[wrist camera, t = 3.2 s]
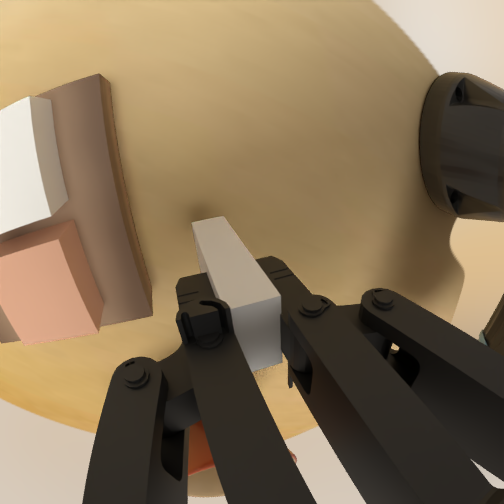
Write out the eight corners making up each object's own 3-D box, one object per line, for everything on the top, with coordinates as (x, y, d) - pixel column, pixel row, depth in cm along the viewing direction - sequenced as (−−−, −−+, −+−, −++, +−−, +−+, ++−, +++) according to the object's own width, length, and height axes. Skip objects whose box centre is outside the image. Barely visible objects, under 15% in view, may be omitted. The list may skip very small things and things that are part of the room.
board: (109, 82, 12) (99, 73, 9) (151, 288, 18) (152, 315, 15) (-43, 150, 9) (-69, 159, 6) (13, 317, 15) (1, 343, 12)
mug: (254, 335, 22) (309, 440, 14) (248, 396, 26) (286, 480, 17) (107, 351, 19) (105, 472, 10) (132, 411, 22) (143, 504, 14)
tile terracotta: (73, 219, 11) (58, 239, 9) (104, 303, 14) (98, 333, 12) (1, 242, 10) (-19, 264, 8) (35, 317, 13) (24, 345, 10)
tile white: (51, 99, 9) (29, 95, 6) (68, 199, 11) (51, 216, 9) (-24, 136, 7) (-51, 142, 5) (-5, 225, 10) (-27, 244, 8)
